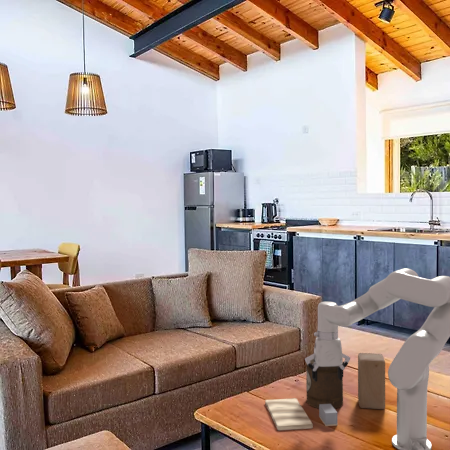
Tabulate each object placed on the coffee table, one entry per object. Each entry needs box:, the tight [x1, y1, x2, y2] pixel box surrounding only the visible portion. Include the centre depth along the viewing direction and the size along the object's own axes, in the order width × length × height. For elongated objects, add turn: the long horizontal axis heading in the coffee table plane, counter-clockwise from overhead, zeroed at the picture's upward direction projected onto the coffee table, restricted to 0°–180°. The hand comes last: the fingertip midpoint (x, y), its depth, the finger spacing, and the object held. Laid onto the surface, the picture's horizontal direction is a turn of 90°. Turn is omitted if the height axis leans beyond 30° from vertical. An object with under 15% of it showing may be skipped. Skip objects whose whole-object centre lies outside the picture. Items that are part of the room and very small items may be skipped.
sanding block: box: [318, 404, 338, 427], centre depth 188 cm, size 8×4×5 cm, turn 6°
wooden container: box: [305, 355, 344, 410], centre depth 205 cm, size 15×15×22 cm
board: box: [264, 398, 314, 431], centre depth 194 cm, size 24×13×2 cm, turn 6°
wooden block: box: [357, 352, 386, 410], centre depth 202 cm, size 10×10×20 cm
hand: (327, 379), depth 188 cm, fingers open, 9 cm apart
